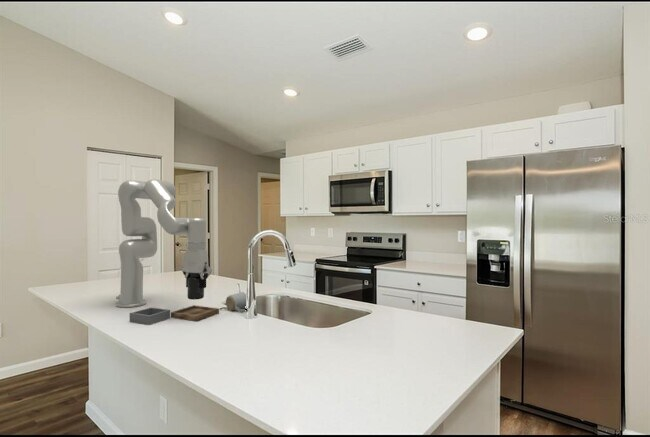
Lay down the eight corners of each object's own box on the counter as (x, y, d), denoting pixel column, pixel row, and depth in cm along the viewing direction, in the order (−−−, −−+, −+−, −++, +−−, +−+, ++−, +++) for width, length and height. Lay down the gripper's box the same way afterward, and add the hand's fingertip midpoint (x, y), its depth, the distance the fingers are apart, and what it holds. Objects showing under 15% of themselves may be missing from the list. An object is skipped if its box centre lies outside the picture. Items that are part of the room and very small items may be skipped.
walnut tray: (170, 317, 151) (170, 312, 151) (193, 310, 164) (193, 305, 164) (197, 321, 146) (197, 316, 146) (218, 313, 159) (218, 308, 159)
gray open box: (129, 321, 144) (129, 313, 144) (150, 315, 154) (150, 307, 154) (149, 324, 140) (149, 316, 140) (169, 318, 150) (170, 309, 150)
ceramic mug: (224, 309, 166) (224, 293, 166) (239, 306, 172) (239, 290, 172) (237, 314, 159) (238, 297, 159) (252, 310, 165) (253, 294, 165)
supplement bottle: (183, 298, 153) (184, 271, 153) (195, 295, 159) (195, 269, 159) (196, 300, 150) (196, 271, 150) (207, 297, 156) (207, 270, 157)
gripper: (174, 246, 154) (174, 287, 154) (207, 247, 148) (206, 290, 148) (187, 245, 161) (186, 284, 161) (218, 246, 155) (218, 287, 155)
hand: (196, 287), depth 155 cm, fingers closed on supplement bottle, 6 cm apart
